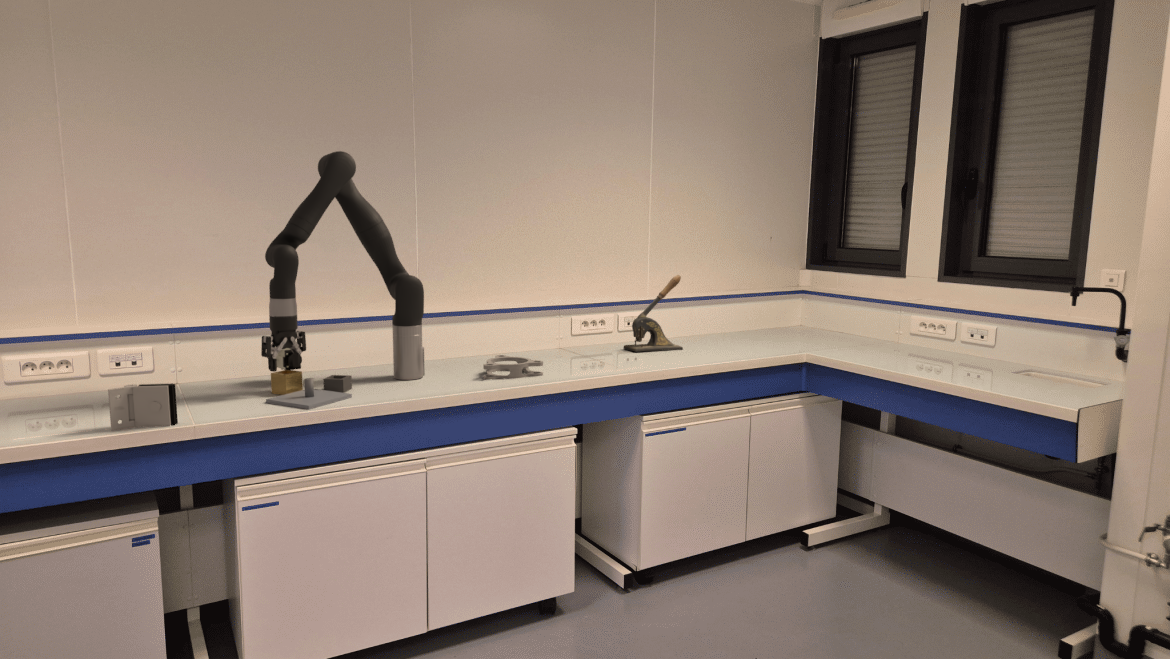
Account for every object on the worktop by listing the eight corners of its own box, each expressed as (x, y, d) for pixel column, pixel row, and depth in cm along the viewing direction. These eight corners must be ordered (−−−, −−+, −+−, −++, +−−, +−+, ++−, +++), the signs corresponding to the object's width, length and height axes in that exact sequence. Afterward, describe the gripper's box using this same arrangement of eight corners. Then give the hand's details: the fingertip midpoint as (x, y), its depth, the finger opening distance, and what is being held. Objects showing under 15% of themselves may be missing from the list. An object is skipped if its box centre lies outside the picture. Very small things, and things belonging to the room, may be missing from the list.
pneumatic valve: (287, 378, 240) (286, 341, 239) (303, 384, 232) (302, 345, 231) (270, 380, 237) (268, 343, 235) (286, 386, 228) (284, 347, 227)
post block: (310, 391, 222) (309, 371, 221) (351, 397, 215) (351, 376, 214) (266, 402, 208) (265, 381, 207) (309, 409, 201) (308, 387, 200)
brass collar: (287, 389, 225) (287, 369, 224) (302, 391, 222) (301, 371, 221) (271, 393, 219) (270, 373, 219) (286, 395, 217) (285, 375, 216)
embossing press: (621, 349, 305) (623, 275, 300) (673, 345, 314) (674, 273, 310) (634, 353, 295) (635, 276, 290) (686, 350, 304) (688, 275, 300)
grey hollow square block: (332, 387, 227) (332, 374, 227) (351, 388, 227) (351, 375, 226) (323, 392, 221) (323, 378, 221) (343, 392, 221) (343, 379, 220)
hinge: (110, 431, 178) (107, 389, 177) (114, 426, 183) (111, 385, 182) (176, 425, 184) (174, 385, 183) (179, 420, 189) (176, 381, 187)
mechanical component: (486, 381, 240) (486, 366, 240) (471, 371, 258) (470, 356, 257) (545, 377, 248) (545, 362, 248) (527, 367, 266) (527, 353, 265)
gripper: (293, 310, 226) (294, 364, 228) (253, 315, 213) (255, 371, 215) (311, 312, 222) (313, 366, 224) (272, 316, 210) (274, 374, 212)
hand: (284, 368), depth 220 cm, fingers open, 8 cm apart
